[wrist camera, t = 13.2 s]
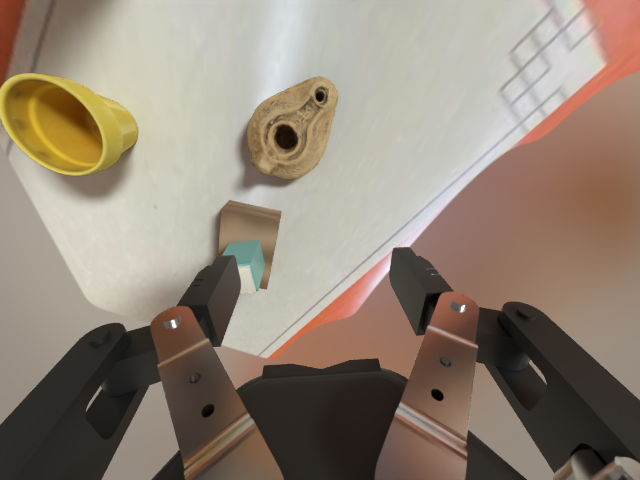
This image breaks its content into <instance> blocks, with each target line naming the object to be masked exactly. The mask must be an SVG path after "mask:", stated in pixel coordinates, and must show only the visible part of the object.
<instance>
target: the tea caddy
mask: <svg viewBox="0 0 640 480" xmlns="http://www.w3.org/2000/svg"><path fill="white" fill-rule="evenodd" d="M223 255H234V256H235V257H236V261H237V266H238V270H239V275H240V279H241V291H240V294H243V293H253V292H255V291H258V290H259V287H260V283H261V279H262V275H263V271H264V268H265V262H264V258H263V253H262V249H261V245H260V240H254V241H244V242H234V243H229V244H228V246H227V248H226V249H225V251H224V253H223Z"/></svg>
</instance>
